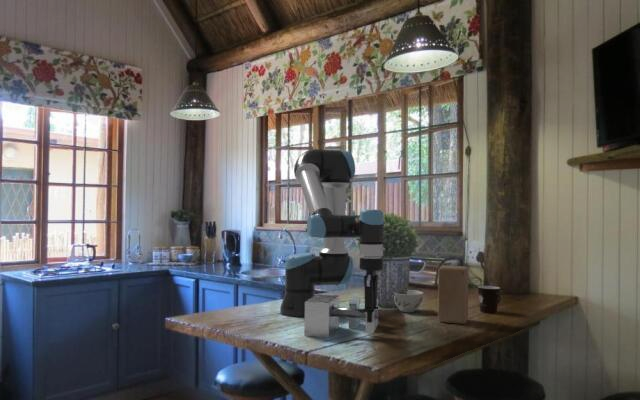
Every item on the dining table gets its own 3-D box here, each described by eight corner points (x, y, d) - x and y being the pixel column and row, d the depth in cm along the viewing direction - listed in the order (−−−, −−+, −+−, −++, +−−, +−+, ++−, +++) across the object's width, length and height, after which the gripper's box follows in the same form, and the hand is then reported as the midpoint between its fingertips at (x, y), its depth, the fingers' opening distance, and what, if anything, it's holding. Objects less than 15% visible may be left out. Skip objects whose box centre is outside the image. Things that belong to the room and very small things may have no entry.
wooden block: (466, 324, 182) (466, 268, 183) (437, 322, 186) (438, 267, 186) (468, 319, 192) (468, 266, 192) (441, 317, 195) (441, 265, 196)
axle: (327, 316, 165) (328, 307, 165) (329, 315, 168) (330, 306, 168) (377, 319, 161) (377, 310, 161) (378, 318, 164) (378, 309, 164)
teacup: (409, 315, 198) (409, 294, 198) (385, 310, 208) (385, 290, 208) (433, 310, 208) (433, 291, 208) (409, 306, 217) (409, 287, 218)
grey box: (304, 335, 163) (304, 301, 163) (316, 325, 179) (316, 294, 179) (328, 337, 161) (329, 303, 161) (338, 326, 177) (339, 295, 177)
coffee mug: (476, 309, 212) (476, 285, 213) (498, 310, 211) (498, 286, 211) (479, 314, 201) (479, 289, 201) (502, 316, 199) (502, 290, 199)
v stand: (348, 328, 174) (348, 300, 174) (353, 322, 183) (353, 296, 183) (374, 330, 172) (375, 301, 172) (378, 324, 181) (378, 297, 181)
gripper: (379, 259, 155) (379, 337, 154) (385, 255, 170) (385, 326, 170) (355, 259, 157) (354, 335, 156) (363, 255, 172) (363, 325, 172)
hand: (370, 330), depth 163 cm, fingers closed on axle, 3 cm apart
